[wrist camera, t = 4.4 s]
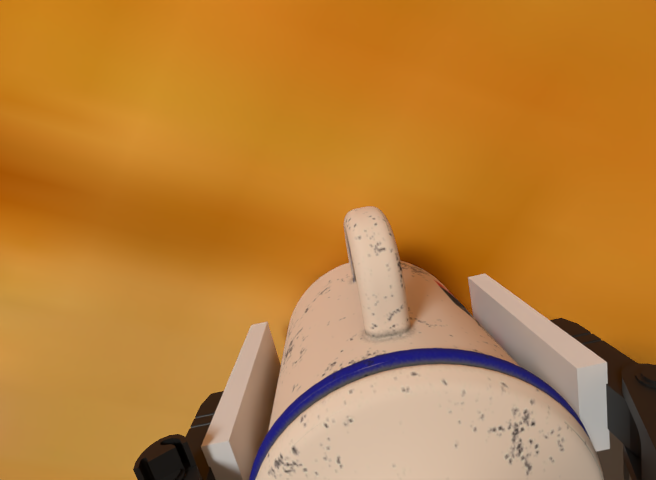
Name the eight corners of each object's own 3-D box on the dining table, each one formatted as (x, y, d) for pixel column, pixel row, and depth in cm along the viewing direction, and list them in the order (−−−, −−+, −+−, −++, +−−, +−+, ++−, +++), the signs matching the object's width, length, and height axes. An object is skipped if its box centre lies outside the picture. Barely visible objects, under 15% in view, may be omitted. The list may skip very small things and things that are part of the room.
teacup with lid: (471, 398, 18) (719, 804, 7) (302, 426, 18) (272, 864, 7) (449, 172, 15) (823, 222, 4) (250, 209, 15) (54, 358, 4)
